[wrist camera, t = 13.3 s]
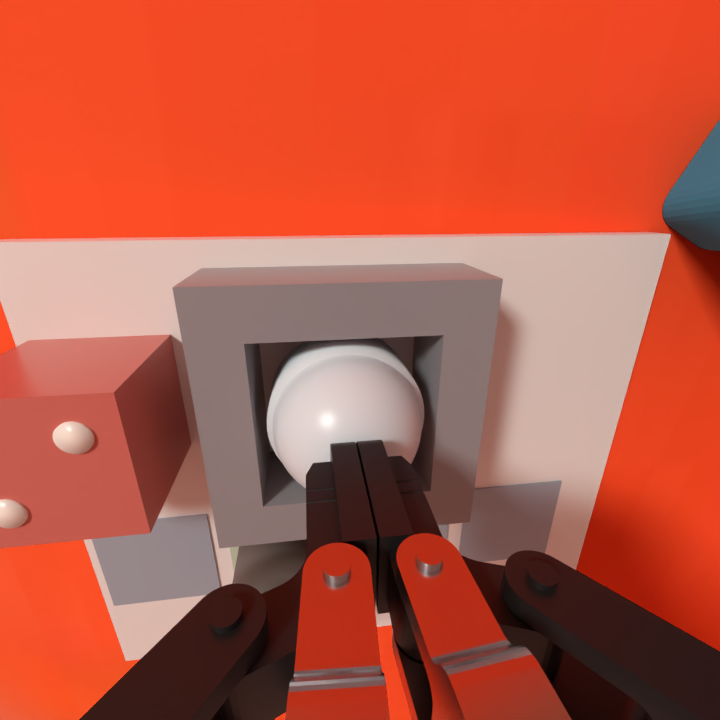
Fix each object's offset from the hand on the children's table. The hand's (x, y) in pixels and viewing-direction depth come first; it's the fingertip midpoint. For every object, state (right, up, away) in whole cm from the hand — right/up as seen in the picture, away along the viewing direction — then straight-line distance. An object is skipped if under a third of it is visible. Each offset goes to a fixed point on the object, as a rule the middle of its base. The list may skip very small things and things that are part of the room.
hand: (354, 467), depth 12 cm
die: (-10, +2, +4) cm, 11 cm away
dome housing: (-1, +2, +5) cm, 6 cm away
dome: (-1, +2, +5) cm, 5 cm away
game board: (0, -2, +9) cm, 9 cm away
